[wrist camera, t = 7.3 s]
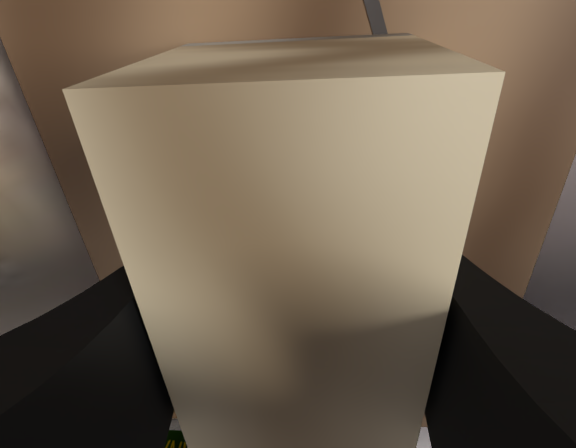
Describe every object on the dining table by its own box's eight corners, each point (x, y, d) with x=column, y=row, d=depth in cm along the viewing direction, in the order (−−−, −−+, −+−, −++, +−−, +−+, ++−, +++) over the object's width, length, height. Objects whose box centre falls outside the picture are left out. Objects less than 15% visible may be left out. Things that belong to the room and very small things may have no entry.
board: (676, -291, 7) (763, -360, 5) (463, 396, 17) (475, 429, 16) (-45, -205, 8) (-116, -245, 7) (166, 388, 18) (155, 418, 17)
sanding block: (407, 32, 8) (505, 72, 4) (377, 323, 13) (407, 484, 9) (187, 43, 9) (62, 89, 4) (235, 321, 13) (196, 474, 9)
